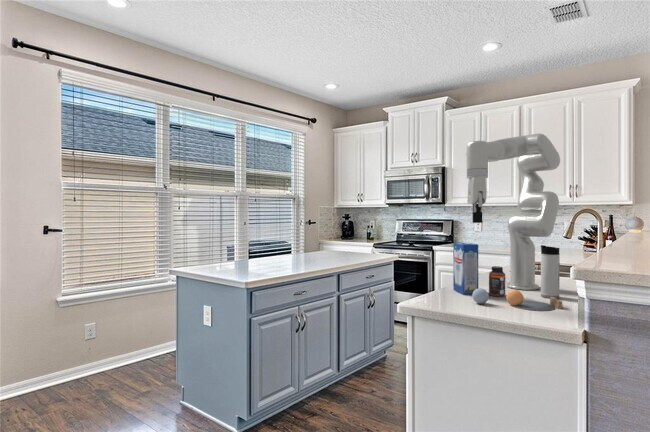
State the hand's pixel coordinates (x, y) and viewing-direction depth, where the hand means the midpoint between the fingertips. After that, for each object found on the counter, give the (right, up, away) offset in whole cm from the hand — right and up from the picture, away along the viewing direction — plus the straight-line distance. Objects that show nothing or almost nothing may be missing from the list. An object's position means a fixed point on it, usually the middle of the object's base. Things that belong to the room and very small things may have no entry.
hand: (477, 222), depth 152 cm
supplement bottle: (+10, -29, +6) cm, 31 cm away
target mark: (+15, -29, -11) cm, 35 cm away
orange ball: (+9, -27, -10) cm, 30 cm away
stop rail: (+23, -29, -12) cm, 39 cm away
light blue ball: (-1, -27, -7) cm, 27 cm away
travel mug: (+29, -29, +3) cm, 41 cm away
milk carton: (0, -29, +13) cm, 32 cm away
